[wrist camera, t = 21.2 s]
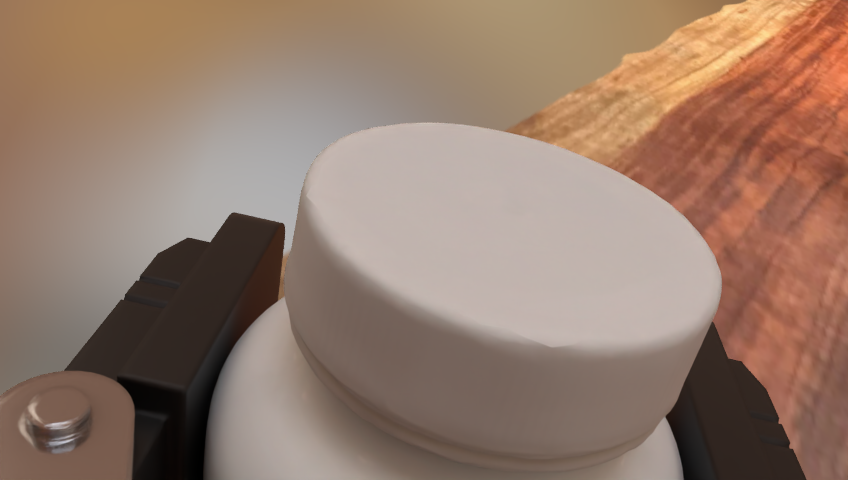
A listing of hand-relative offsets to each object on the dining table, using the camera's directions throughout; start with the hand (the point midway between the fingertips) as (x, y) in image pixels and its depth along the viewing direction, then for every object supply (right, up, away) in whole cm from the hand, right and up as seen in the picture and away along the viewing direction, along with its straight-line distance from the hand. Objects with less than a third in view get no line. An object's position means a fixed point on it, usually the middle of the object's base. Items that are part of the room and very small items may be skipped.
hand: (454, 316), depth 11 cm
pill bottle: (-2, -7, +1) cm, 7 cm away
